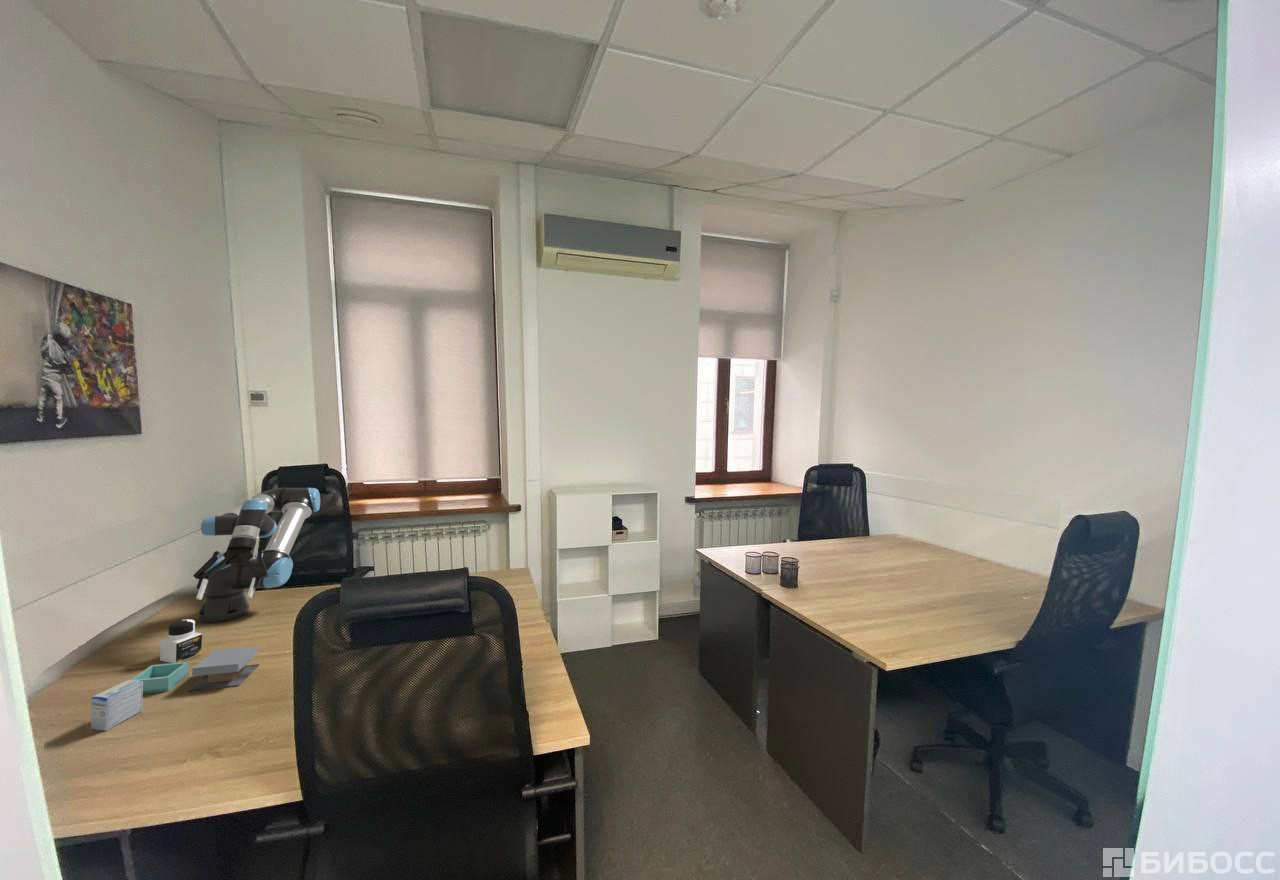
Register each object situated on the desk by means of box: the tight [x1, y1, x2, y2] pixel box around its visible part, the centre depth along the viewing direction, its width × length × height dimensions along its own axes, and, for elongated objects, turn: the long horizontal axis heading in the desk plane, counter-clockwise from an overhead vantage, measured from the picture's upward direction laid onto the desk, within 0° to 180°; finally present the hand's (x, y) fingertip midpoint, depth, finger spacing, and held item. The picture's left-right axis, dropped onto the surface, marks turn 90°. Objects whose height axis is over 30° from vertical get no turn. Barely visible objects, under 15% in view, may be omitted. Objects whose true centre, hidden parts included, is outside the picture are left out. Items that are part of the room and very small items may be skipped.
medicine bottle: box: [159, 618, 203, 664], centre depth 146 cm, size 7×7×12 cm
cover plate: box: [191, 646, 258, 677], centre depth 136 cm, size 11×11×2 cm
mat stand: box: [188, 663, 260, 692], centre depth 136 cm, size 12×12×4 cm
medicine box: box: [90, 679, 143, 732], centre depth 116 cm, size 8×4×9 cm, turn 178°
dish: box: [130, 661, 190, 694], centre depth 131 cm, size 9×9×4 cm
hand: (224, 598), depth 154 cm, fingers open, 13 cm apart
